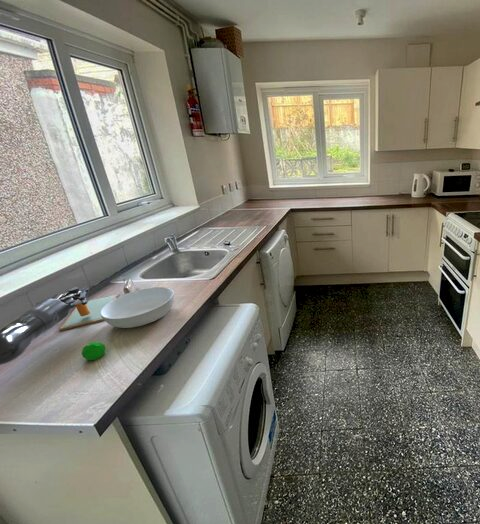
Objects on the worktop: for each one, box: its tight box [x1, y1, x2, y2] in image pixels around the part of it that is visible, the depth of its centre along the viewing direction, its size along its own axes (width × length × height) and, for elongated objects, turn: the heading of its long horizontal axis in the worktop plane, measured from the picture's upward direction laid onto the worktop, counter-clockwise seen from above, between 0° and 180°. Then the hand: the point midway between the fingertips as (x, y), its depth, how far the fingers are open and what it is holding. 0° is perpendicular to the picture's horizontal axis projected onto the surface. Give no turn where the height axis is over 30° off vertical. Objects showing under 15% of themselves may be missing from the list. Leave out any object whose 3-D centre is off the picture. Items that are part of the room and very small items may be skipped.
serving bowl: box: [100, 286, 175, 329], centre depth 99 cm, size 21×21×7 cm
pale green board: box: [59, 294, 119, 331], centre depth 105 cm, size 12×20×1 cm, turn 27°
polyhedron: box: [81, 341, 106, 361], centre depth 80 cm, size 5×5×5 cm
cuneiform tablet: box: [122, 278, 137, 295], centre depth 116 cm, size 6×4×12 cm
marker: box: [67, 286, 90, 316], centre depth 98 cm, size 3×3×10 cm
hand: (81, 290), depth 99 cm, fingers closed on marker, 2 cm apart
